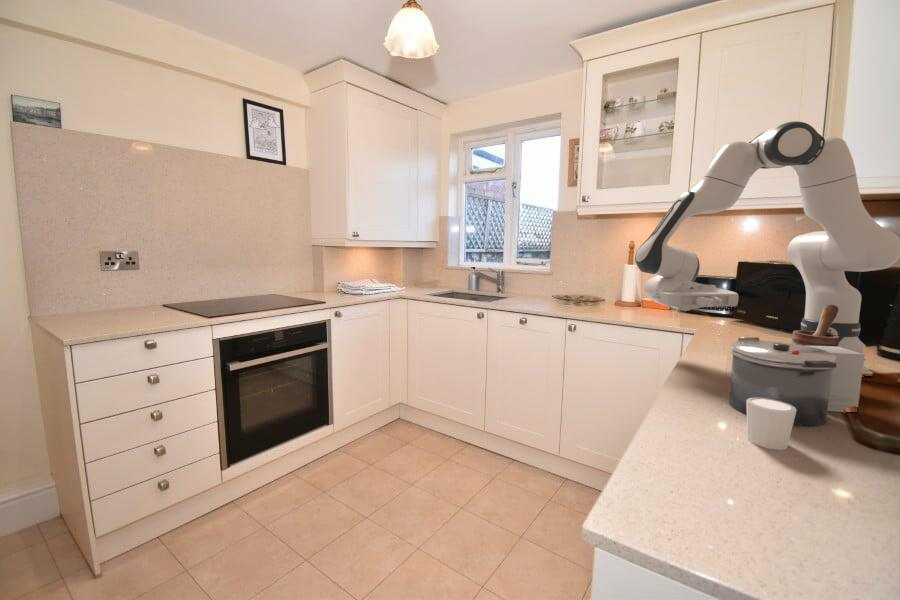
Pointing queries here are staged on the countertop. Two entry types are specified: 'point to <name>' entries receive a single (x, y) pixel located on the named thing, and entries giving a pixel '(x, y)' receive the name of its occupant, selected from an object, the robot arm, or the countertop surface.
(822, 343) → the mortar and pestle
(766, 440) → the white tapered cup
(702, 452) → the countertop surface
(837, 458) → the countertop surface
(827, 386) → the cooker pot
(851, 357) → the supplement box
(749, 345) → the cooker lid
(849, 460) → the countertop surface
